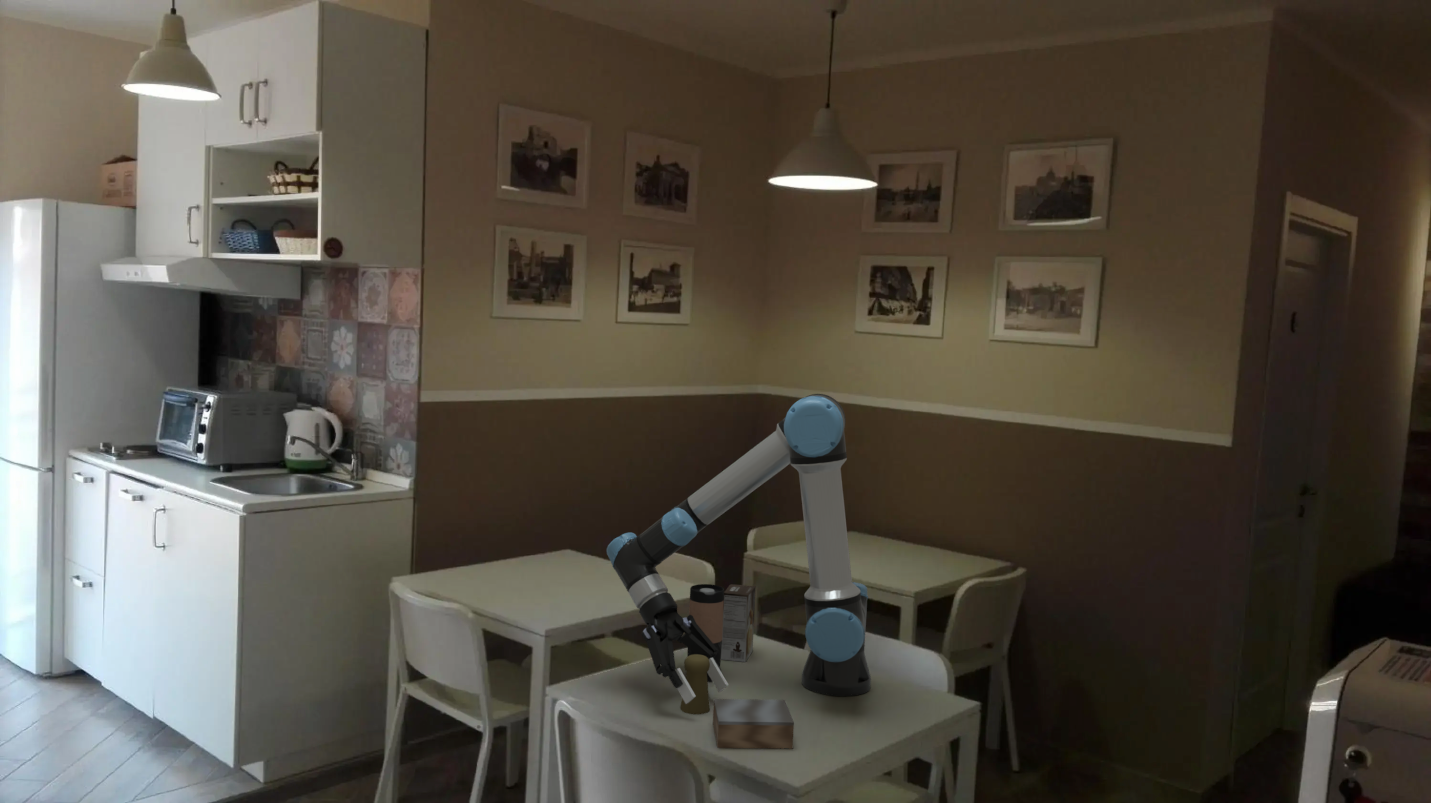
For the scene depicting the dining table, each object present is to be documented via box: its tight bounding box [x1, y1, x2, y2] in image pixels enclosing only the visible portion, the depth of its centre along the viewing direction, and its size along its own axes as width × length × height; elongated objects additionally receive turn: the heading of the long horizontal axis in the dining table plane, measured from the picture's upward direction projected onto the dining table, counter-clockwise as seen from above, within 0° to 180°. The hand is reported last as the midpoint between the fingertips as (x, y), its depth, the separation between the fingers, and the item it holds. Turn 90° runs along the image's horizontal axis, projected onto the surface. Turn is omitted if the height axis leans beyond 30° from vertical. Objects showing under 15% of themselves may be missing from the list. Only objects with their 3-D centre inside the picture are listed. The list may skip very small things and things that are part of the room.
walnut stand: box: [712, 698, 795, 750], centre depth 207 cm, size 14×12×5 cm
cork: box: [679, 654, 711, 715], centre depth 220 cm, size 6×6×11 cm
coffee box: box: [721, 584, 756, 663], centre depth 256 cm, size 9×6×16 cm
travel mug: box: [686, 583, 725, 683], centre depth 239 cm, size 8×8×20 cm
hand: (707, 694), depth 218 cm, fingers open, 9 cm apart
